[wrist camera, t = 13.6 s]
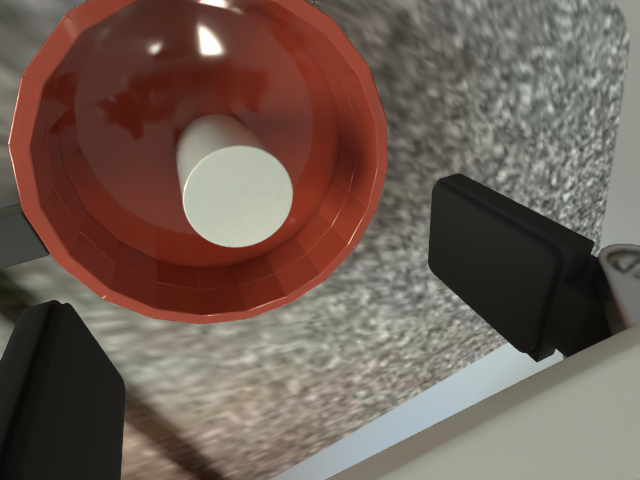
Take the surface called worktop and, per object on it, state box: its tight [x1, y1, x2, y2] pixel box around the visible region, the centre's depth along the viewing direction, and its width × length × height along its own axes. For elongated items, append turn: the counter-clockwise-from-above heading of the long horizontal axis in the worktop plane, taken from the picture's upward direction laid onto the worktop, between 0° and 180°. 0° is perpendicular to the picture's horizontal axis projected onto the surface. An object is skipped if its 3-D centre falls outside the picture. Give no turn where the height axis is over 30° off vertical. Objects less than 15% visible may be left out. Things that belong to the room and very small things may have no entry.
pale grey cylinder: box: [175, 114, 293, 247], centre depth 17 cm, size 4×4×6 cm
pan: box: [8, 0, 388, 324], centre depth 18 cm, size 15×15×5 cm
